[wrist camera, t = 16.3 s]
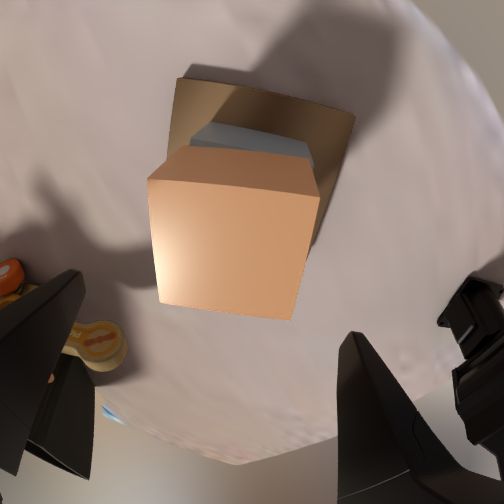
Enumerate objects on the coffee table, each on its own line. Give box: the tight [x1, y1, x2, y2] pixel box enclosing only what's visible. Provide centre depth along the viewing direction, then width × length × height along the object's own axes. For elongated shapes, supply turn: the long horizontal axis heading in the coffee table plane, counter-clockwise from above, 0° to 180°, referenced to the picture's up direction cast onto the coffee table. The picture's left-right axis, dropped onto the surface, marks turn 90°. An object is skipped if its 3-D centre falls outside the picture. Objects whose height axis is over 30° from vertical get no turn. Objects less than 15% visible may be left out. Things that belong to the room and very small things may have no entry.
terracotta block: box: [147, 145, 320, 321], centre depth 13 cm, size 6×6×4 cm
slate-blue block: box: [189, 122, 314, 170], centre depth 17 cm, size 6×6×4 cm
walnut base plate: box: [167, 78, 356, 260], centre depth 19 cm, size 11×11×1 cm
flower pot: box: [24, 353, 95, 480], centre depth 32 cm, size 19×19×17 cm
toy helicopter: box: [0, 259, 128, 383], centre depth 23 cm, size 8×21×14 cm, turn 89°
